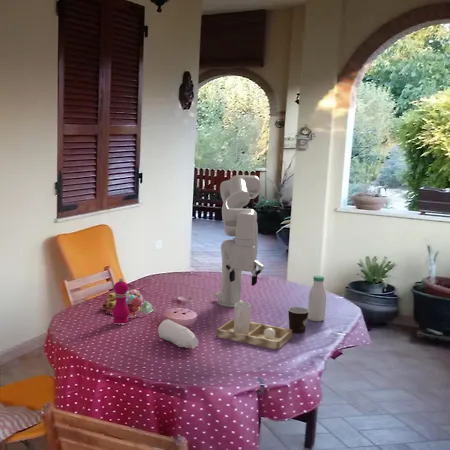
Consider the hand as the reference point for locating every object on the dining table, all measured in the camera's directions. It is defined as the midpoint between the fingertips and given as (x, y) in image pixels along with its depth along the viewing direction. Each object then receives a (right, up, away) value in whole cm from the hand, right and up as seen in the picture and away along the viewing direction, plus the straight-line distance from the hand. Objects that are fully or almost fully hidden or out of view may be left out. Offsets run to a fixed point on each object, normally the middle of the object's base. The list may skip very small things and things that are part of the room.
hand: (242, 283), depth 242 cm
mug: (-1, -21, +3) cm, 22 cm away
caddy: (+5, -23, 0) cm, 23 cm away
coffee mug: (+25, -22, +10) cm, 35 cm away
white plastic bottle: (-25, -24, -8) cm, 36 cm away
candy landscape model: (-52, -16, +31) cm, 62 cm away
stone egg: (+11, -23, -3) cm, 25 cm away
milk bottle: (+34, -19, +27) cm, 48 cm away
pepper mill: (-52, -19, +12) cm, 57 cm away
